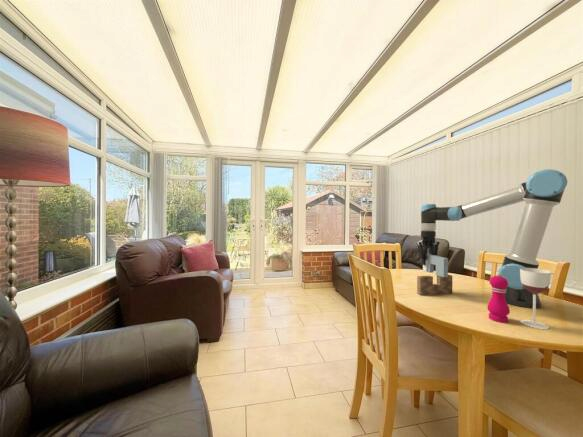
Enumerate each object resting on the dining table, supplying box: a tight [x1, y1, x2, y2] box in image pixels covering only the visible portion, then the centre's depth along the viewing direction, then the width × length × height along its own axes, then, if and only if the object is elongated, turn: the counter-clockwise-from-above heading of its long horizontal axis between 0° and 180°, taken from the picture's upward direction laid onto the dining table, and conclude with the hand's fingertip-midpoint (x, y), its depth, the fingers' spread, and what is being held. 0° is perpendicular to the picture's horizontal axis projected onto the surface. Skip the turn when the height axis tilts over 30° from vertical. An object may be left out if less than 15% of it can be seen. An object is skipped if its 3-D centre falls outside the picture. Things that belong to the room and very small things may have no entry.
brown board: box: [416, 274, 453, 296], centre depth 135 cm, size 20×2×10 cm, turn 99°
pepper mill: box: [486, 272, 511, 324], centre depth 102 cm, size 7×7×20 cm
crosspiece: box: [425, 253, 449, 277], centre depth 135 cm, size 16×2×10 cm, turn 9°
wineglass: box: [519, 268, 552, 330], centre depth 97 cm, size 9×10×22 cm
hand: (427, 270), depth 140 cm, fingers closed on crosspiece, 2 cm apart
